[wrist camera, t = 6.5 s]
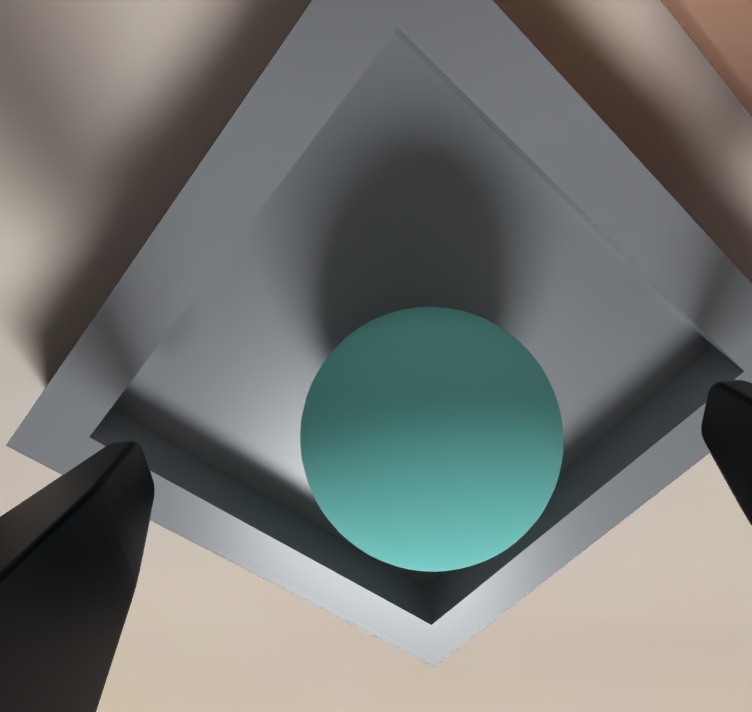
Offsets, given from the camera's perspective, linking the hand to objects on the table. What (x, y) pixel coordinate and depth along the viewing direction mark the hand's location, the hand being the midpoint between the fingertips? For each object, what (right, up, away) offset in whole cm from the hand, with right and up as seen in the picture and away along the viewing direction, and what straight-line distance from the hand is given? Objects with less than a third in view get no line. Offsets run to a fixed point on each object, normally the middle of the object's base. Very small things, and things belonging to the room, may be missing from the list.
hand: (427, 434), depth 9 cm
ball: (0, 0, 0) cm, 0 cm away
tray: (0, +1, +2) cm, 2 cm away
